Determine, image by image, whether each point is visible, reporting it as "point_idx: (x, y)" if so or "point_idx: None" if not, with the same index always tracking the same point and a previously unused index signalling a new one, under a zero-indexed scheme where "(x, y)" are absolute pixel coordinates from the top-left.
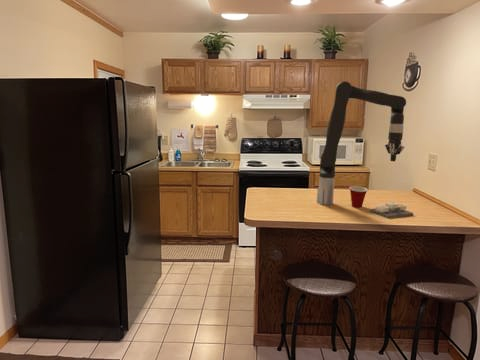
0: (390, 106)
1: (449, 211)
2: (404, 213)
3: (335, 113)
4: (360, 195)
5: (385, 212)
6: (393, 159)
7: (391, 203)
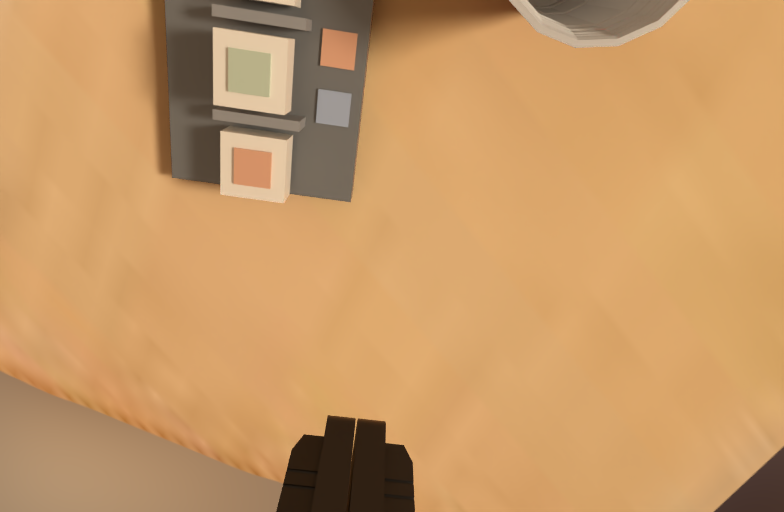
0: None
1: (183, 431)
2: (178, 104)
3: None
4: None
5: None
6: (307, 454)
7: (243, 60)
